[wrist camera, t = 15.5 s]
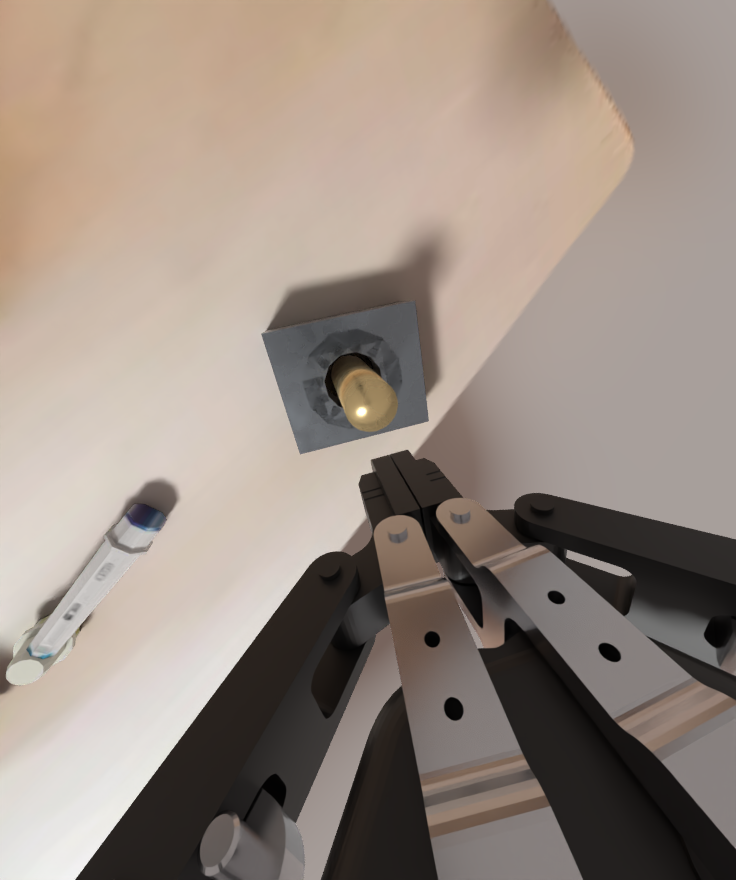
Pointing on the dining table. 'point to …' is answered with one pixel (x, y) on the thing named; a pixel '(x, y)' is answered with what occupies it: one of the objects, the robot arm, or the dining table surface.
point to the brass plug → (363, 394)
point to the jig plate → (320, 343)
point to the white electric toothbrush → (84, 595)
